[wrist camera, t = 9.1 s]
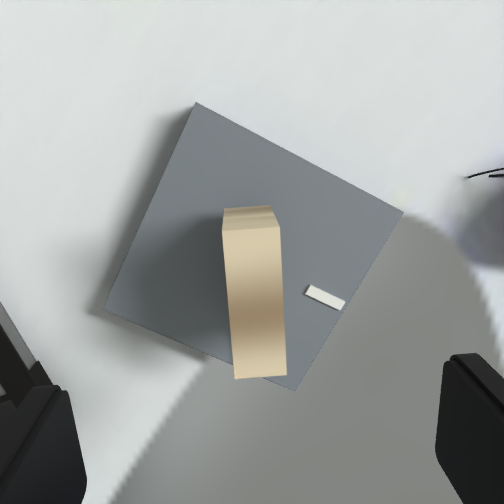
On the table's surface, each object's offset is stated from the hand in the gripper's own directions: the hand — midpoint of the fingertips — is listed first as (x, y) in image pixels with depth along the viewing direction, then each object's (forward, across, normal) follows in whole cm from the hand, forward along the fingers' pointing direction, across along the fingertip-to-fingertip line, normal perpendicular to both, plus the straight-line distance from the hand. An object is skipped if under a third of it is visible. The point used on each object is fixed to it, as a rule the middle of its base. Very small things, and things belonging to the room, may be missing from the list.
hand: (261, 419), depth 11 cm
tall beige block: (+14, -1, +3) cm, 14 cm away
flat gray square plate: (+17, 0, +1) cm, 17 cm away
